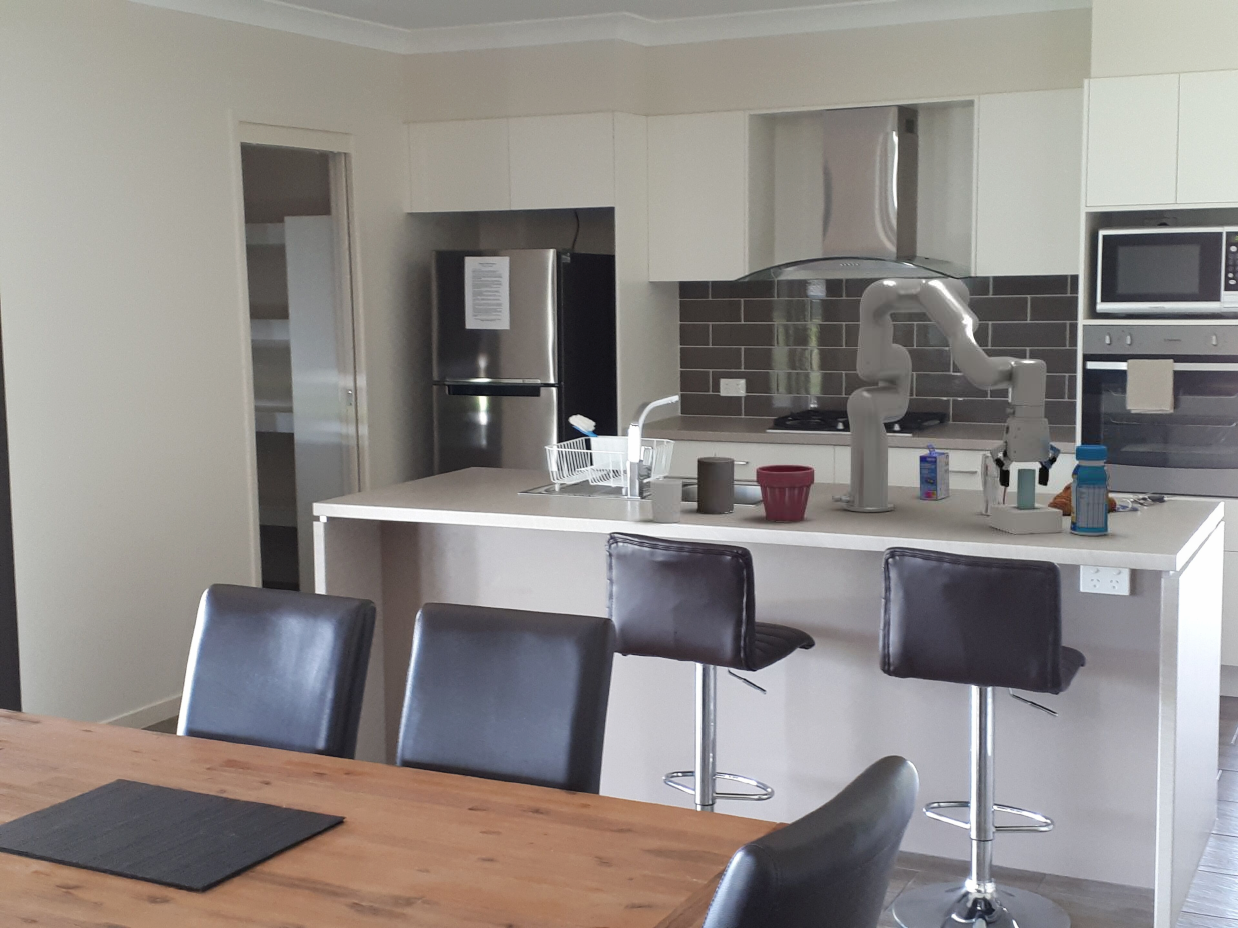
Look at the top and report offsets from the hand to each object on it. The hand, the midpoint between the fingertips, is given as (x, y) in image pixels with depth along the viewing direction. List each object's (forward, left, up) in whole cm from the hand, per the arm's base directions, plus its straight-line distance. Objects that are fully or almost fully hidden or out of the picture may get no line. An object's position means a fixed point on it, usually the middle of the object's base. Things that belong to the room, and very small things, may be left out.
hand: (1023, 485), depth 311 cm
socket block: (0, -1, -10) cm, 10 cm away
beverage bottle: (+11, -10, -10) cm, 18 cm away
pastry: (+27, +20, -11) cm, 35 cm away
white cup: (-78, +33, -10) cm, 85 cm away
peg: (0, -1, -10) cm, 10 cm away
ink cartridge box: (+2, +53, -10) cm, 55 cm away
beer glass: (+4, +22, -10) cm, 25 cm away
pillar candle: (-62, +45, -10) cm, 77 cm away
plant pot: (-49, +28, -10) cm, 57 cm away
